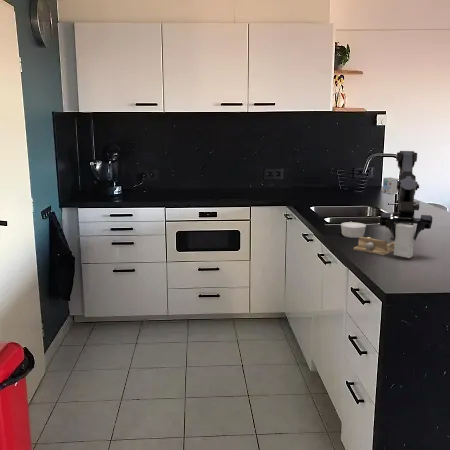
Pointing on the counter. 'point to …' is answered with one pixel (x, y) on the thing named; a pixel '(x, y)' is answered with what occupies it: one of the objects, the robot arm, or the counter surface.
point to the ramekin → (353, 229)
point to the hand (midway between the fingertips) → (404, 239)
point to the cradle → (374, 246)
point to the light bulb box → (390, 185)
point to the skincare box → (404, 240)
